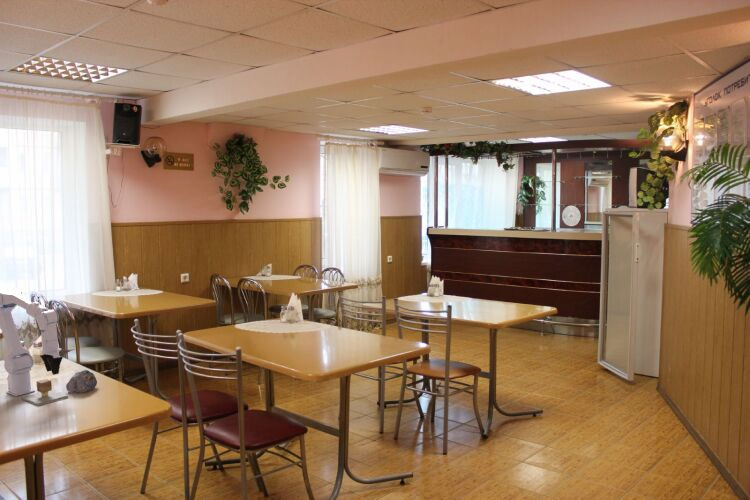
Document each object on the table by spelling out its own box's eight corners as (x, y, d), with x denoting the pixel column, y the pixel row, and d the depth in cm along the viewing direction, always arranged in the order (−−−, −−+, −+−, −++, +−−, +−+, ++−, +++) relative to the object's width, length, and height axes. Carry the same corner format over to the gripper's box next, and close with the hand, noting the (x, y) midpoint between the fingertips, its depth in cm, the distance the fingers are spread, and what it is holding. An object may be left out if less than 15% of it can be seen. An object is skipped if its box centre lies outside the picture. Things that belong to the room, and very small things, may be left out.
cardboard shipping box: (37, 391, 255) (36, 381, 255) (47, 388, 258) (46, 378, 258) (41, 392, 253) (41, 383, 252) (52, 390, 256) (51, 380, 256)
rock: (101, 380, 271) (89, 363, 266) (90, 397, 263) (78, 381, 257) (80, 384, 274) (68, 367, 268) (69, 401, 265) (56, 385, 260)
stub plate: (22, 399, 255) (21, 392, 255) (51, 391, 265) (51, 384, 265) (37, 405, 247) (37, 398, 247) (68, 397, 256) (67, 390, 256)
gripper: (65, 340, 252) (68, 373, 253) (54, 335, 262) (57, 367, 264) (46, 343, 247) (50, 377, 248) (36, 338, 258) (39, 371, 259)
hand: (52, 372), depth 255 cm, fingers open, 7 cm apart
